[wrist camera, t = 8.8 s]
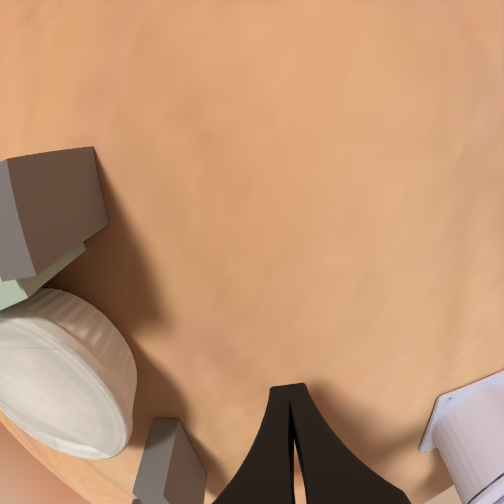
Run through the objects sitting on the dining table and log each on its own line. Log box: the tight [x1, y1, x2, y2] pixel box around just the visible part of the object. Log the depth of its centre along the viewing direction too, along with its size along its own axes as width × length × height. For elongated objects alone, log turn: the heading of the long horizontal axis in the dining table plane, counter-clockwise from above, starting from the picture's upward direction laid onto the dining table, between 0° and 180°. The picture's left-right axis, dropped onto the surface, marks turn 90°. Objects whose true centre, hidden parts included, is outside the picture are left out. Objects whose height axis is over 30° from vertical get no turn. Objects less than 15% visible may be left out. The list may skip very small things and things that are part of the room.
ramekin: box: [0, 288, 137, 460], centre depth 15 cm, size 11×11×5 cm
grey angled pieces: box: [0, 146, 207, 504], centre depth 15 cm, size 2×26×6 cm, turn 8°
